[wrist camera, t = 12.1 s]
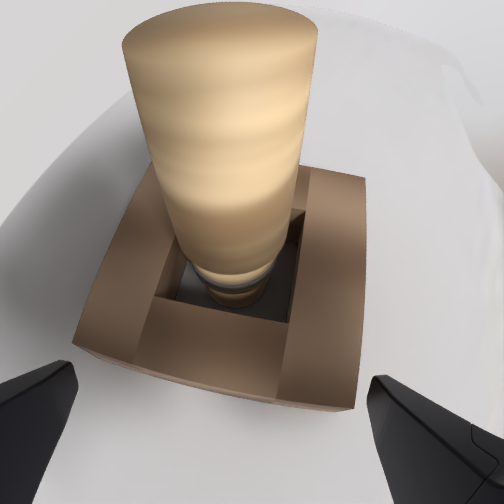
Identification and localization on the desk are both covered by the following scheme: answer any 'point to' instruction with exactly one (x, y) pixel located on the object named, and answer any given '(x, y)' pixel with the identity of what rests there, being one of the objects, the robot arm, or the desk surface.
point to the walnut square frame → (235, 325)
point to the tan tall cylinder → (225, 131)
